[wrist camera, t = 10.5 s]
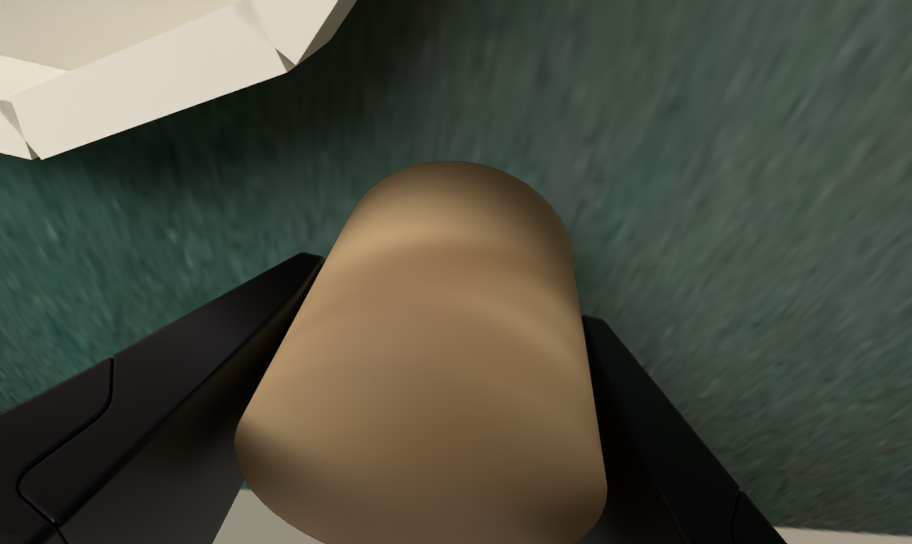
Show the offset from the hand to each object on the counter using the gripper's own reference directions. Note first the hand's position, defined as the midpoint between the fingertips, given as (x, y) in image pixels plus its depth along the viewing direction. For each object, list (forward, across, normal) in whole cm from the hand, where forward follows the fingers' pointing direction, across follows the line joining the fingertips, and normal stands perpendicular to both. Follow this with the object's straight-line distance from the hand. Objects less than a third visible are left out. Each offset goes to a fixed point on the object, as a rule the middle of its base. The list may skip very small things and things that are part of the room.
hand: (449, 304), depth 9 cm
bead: (+1, 0, 0) cm, 1 cm away
